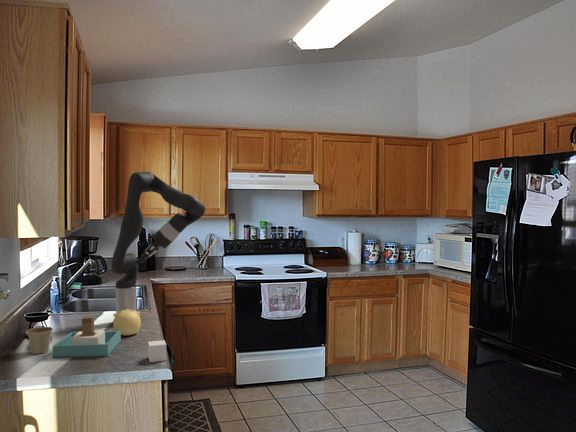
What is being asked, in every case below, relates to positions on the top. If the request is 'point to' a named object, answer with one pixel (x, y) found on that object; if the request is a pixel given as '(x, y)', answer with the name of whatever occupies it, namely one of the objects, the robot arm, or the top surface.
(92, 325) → the peg
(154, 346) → the light grey cube
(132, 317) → the sculpture
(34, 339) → the flower pot
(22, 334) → the top surface
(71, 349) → the socket box
